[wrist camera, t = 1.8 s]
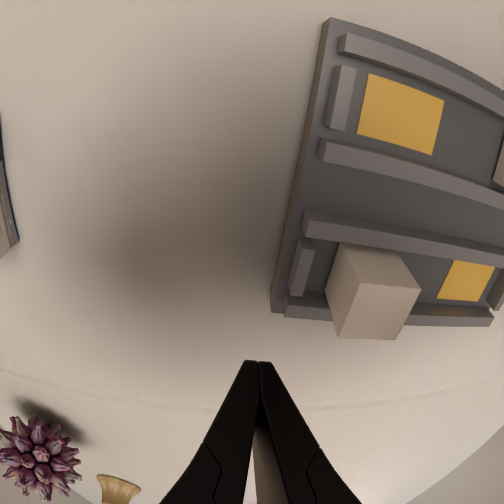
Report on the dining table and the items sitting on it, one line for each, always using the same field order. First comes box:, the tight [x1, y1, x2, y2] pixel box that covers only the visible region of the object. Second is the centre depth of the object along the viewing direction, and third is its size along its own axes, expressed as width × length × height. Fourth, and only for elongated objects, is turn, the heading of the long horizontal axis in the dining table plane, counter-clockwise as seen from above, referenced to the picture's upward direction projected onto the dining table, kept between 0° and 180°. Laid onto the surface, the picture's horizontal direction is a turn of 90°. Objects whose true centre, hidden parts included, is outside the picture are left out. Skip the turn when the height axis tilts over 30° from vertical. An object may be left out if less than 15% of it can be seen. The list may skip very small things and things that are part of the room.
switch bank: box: [270, 17, 504, 327], centre depth 14 cm, size 16×15×3 cm
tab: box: [325, 242, 421, 340], centre depth 14 cm, size 3×3×4 cm
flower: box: [0, 413, 82, 502], centre depth 25 cm, size 12×12×12 cm
